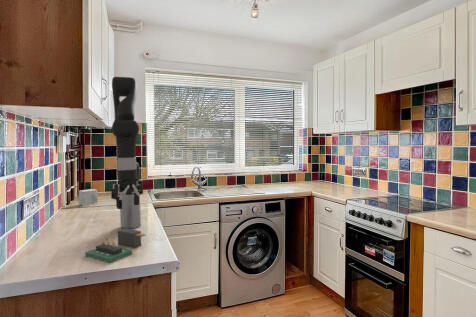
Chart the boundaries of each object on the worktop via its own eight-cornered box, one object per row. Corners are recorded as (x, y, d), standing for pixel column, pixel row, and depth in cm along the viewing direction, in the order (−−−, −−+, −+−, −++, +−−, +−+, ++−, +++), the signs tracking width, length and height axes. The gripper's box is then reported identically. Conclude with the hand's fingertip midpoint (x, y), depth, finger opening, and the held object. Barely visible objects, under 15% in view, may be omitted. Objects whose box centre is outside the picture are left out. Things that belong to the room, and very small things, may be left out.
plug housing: (118, 244, 124) (117, 230, 124) (125, 241, 128) (125, 228, 127) (140, 249, 118) (139, 234, 118) (147, 246, 121) (146, 232, 121)
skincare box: (83, 206, 203) (82, 191, 203) (79, 205, 207) (78, 190, 207) (98, 203, 211) (97, 189, 211) (93, 202, 215) (93, 188, 215)
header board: (85, 256, 112) (84, 240, 111) (108, 247, 120) (107, 233, 120) (109, 263, 105) (109, 246, 104) (132, 253, 114) (131, 238, 113)
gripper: (134, 167, 130) (135, 203, 131) (106, 169, 118) (107, 209, 118) (146, 167, 126) (147, 204, 127) (118, 170, 114) (120, 211, 115)
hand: (128, 206), depth 123 cm, fingers open, 8 cm apart
